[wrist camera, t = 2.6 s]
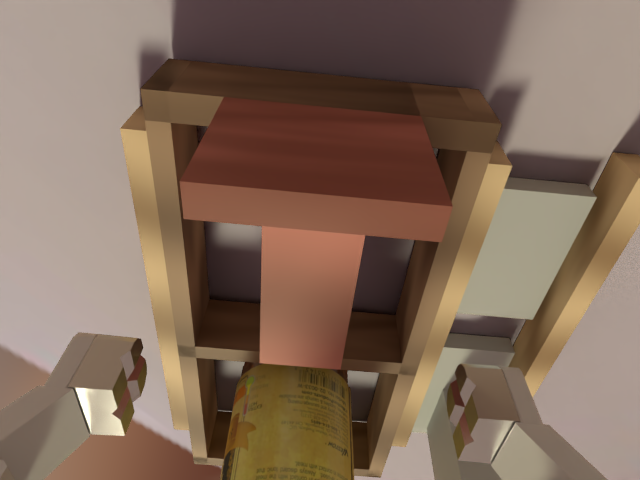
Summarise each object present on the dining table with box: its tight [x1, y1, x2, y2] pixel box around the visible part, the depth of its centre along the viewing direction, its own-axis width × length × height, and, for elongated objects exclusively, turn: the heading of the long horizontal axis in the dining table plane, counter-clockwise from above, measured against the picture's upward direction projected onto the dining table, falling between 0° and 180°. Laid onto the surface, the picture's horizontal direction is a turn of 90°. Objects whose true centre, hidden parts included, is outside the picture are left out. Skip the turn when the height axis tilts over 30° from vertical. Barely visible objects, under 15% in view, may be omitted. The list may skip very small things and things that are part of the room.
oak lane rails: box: [120, 106, 640, 447], centre depth 23 cm, size 19×19×2 cm
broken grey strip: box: [412, 177, 597, 480], centre depth 22 cm, size 18×4×6 cm, turn 175°
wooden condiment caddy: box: [140, 59, 502, 478], centre depth 20 cm, size 22×11×8 cm, turn 175°
